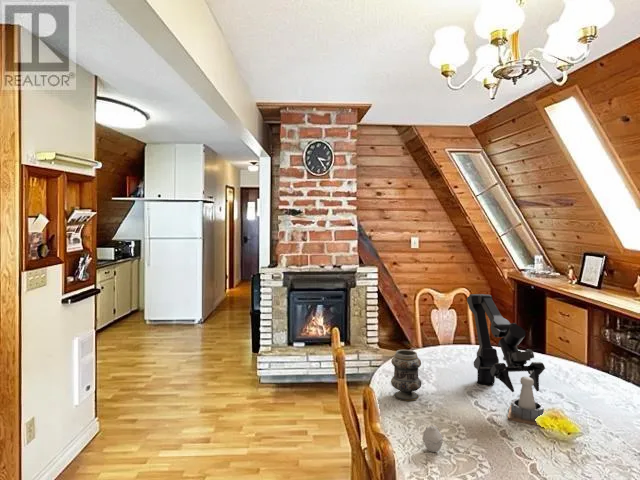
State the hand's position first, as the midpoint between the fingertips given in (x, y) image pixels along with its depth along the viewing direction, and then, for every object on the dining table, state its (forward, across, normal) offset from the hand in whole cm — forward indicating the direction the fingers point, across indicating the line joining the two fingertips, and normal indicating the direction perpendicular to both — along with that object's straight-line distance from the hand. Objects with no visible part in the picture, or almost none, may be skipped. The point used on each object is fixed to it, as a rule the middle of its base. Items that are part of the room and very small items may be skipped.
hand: (525, 391), depth 154 cm
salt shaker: (+6, 0, +5) cm, 8 cm away
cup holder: (+7, 0, +5) cm, 9 cm away
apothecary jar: (-8, -38, +21) cm, 44 cm away
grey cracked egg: (+22, -41, -9) cm, 47 cm away
